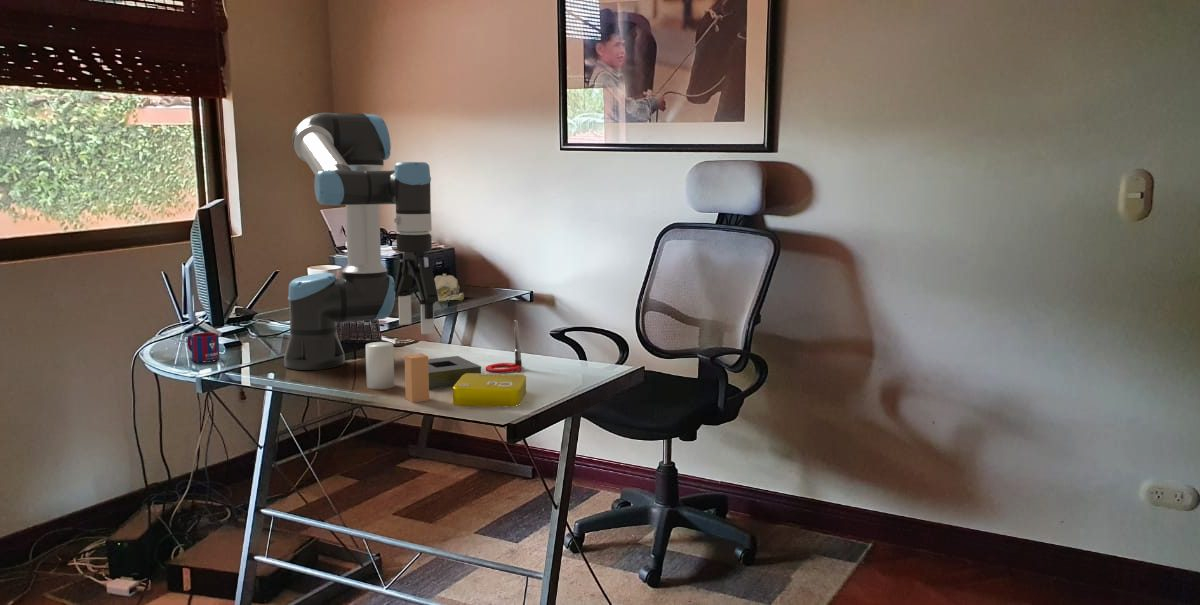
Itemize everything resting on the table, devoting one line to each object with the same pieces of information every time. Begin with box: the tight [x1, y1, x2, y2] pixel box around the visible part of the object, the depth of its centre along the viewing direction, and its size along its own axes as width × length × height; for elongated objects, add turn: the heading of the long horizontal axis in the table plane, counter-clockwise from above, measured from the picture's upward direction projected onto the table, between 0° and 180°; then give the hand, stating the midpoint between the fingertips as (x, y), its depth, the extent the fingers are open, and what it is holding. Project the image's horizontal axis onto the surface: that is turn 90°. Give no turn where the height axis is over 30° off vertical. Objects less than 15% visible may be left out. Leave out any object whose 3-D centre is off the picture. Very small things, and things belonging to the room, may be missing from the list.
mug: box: [186, 331, 221, 363], centre depth 246 cm, size 7×10×7 cm
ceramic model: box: [434, 273, 465, 302], centre depth 354 cm, size 14×11×10 cm
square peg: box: [404, 353, 430, 403], centre depth 207 cm, size 4×4×10 cm
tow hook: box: [485, 319, 523, 374], centre depth 237 cm, size 8×13×9 cm
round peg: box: [365, 341, 395, 390], centre depth 219 cm, size 6×6×10 cm
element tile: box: [452, 372, 527, 408], centre depth 210 cm, size 15×15×5 cm
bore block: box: [428, 355, 482, 390], centre depth 226 cm, size 14×14×4 cm
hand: (416, 328), depth 205 cm, fingers open, 13 cm apart
